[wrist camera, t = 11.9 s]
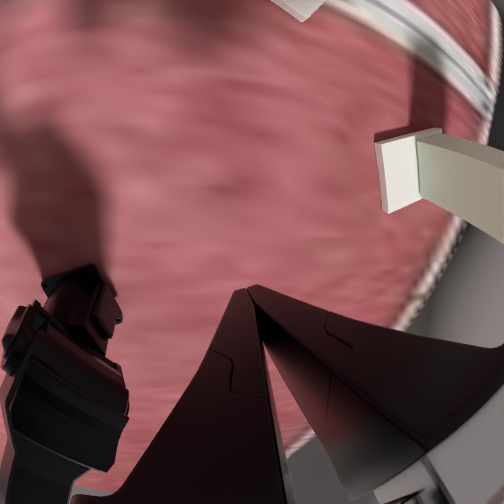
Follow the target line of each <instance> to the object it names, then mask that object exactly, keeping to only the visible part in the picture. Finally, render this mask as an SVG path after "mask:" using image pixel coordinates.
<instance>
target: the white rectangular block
mask: <svg viewBox="0 0 504 504" xmlns="http://www.w3.org/2000/svg"><path fill="white" fill-rule="evenodd" d="M270 1H272V2H273V3H275V4H276V5H278V6H279V7H281V8H282V9H284V10H285V11H287V12H288V13H289V14H291V15H292V16H293V17H295V18H296V19H298V20H299V21H300V22H301V23H302V22H303V21H305V20H307V19H308V18H309V17H310V16H311V15H312V14H313V13H314V12H315V11H316V10H317V9H318V8H319V7H320V6H321V5H322V4H323V3H324V2H325V1H326V0H270Z"/></svg>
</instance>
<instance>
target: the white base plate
mask: <svg viewBox="0 0 504 504" xmlns="http://www.w3.org/2000/svg"><path fill="white" fill-rule="evenodd" d="M438 135H442V129H440V128H436V127H435V128H431V129H426V130H422V131H418V132H414V133H409V134H405V135H401V136H398V137H394V138H390V139H386V140H382V141H379V142H375V143H374V146H375V152H376V158H377V166H378V173H379V181H380V191H381V201H382V210H383V211H384V212H386V213H388V214H389V213H391V212H393V211H396V210H398V209H400V208H402V207H404V206H407V205H409V204H411V203H413V202H415V201H418V200H420V199H422V197H420V177H419V162H418V150H417V141H419V140H422V139H426V138H430V137H434V136H438Z"/></svg>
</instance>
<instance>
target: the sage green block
mask: <svg viewBox="0 0 504 504" xmlns="http://www.w3.org/2000/svg"><path fill="white" fill-rule="evenodd" d="M417 150H418V162H419V177H420V197H422V198H424V199H426V200H428V201H430V202H432V203H434V204H436V205H438V206H440V207H442V208H443V209H445V210H447V211H449V212H451V213H453V214H455V215H456V216H458V217H460V218H462V219H464V220H465V221H467V222H469V223H471V224H472V225H474V226H476V227H477V228H479V229H481V230H482V231H484V232H486V233H487V234H489V235H491V236H492V237H494V238H495V239H497V240H498V241H500V242H501V243H503V244H504V152H503V151H501V150H498V149H495V148H492V147H489V146H486V145H483V144H480V143H477V142H473V141H470V140H466V139H463V138H459V137H455V136H452V135H448V134H442V135H438V136H434V137H430V138H426V139H422V140H419V141H417Z"/></svg>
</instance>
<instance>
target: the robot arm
mask: <svg viewBox="0 0 504 504" xmlns="http://www.w3.org/2000/svg"><path fill="white" fill-rule="evenodd" d="M90 269H93V271H91V270H90ZM45 284H47V285H45ZM41 287H42V288H43V290H44V292H45V294H46V295H47V297H48V299H47V301H46V303H45V305H44V307H42V306H40V305H41V304H40V303H39V302H38V301H37V300H36V299H35V301H34V302H33V303H32V305H30V304H29V305H28V306H27V307H24V306H19V307H18V308H17V310H16V311H15V313H14V315H13V317H12V318H11V320H10V322H9V324H8V326H7V328H6V331H5V333H4V336H3V338H2V345H3V350H4V351H3V356H2V363H1V369H3V370H4V371H5V372H6V376H5V378H4V381H3V383H2V386H1V388H0V402H1V408H2V414H3V419H4V424H5V428H6V432H7V437H8V439H7V443H6V447H5V451H4V455H3V459H2V464H1V468H0V504H68V503H69V499H70V494H71V490H72V486H73V483H74V481H75V480H77V479H78V478H80V477H81V476H82V475H84V474H85V473H87V472H88V471H90V470H91V469H93V470H96V471H99V472H102V473H106V472H108V470H109V469H110V468H111V467H112V466H113V464H114V462H115V456H116V451H117V446H118V441H119V438H120V436H121V433H122V431H123V429H124V427H125V426H126V424H127V422H128V420H129V417H128V416H127V415H128V412H129V391H128V389H126V386H125V382H124V378H123V374H122V369H121V366H120V365H119V364H117V363H113V362H112V361H110V360H109V359H108V358H106V357H105V355H106V350H107V344H108V339H111V338H112V336H113V332H114V327H115V324H120V323H121V322H122V320H123V316H122V314H121V312H120V311H119V309H118V308H119V306H118V304H117V302H116V300H115V298H114V296H113V295H112V293H111V291H110V289H109V287H108V285H107V284H105V283H104V281H103V279H102V277H101V275H100V273H99V271H98V269H97V267H96V265H94V264H88V265H85V266H82V267H79V268H75V269H72V270H69V271H66V272H63V273H60V274H57V275H54V276H51V277H49V278H46V279H43V281H42V282H41ZM117 318H119V319H117ZM263 344H264V346H265V348H266V350H267V351H268V353H269V355H270V357H271V359H272V360H273V362H274V364H275V366H276V367H277V369H278V371H279V373H280V374H281V376H282V378H283V380H284V381H285V383H286V385H287V387H288V388H289V390H290V392H291V393H292V395H293V397H294V399H295V400H296V402H297V404H298V405H299V407H300V409H301V410H302V412H303V414H304V415H305V417H306V419H307V421H308V422H309V424H310V425H311V427H312V429H313V430H314V432H315V434H316V435H317V437H318V439H319V440H320V442H321V443H322V445H323V446H324V448H325V450H326V452H327V454H328V456H329V457H330V460H331V462H332V464H333V466H334V468H335V471H336V473H337V475H338V478H339V479H340V482H341V484H342V487H343V489H344V491H345V493H346V496H347V498H348V500H349V501H352V500H355V499H357V498H359V497H361V496H363V495H365V494H368V493H370V492H372V491H374V493H375V495H376V497H377V499H378V501H379V503H380V504H504V344H502V345H501V346H498V347H495V348H484V347H479V346H473V345H468V344H462V343H456V342H452V341H446V340H442V339H437V338H432V337H427V336H423V335H418V334H413V333H408V332H404V331H400V330H395V329H391V328H386V327H382V326H378V325H374V324H370V323H366V322H362V321H358V320H355V319H351V318H348V317H345V316H342V315H339V314H336V313H334V312H331V311H330V312H329V311H327V310H324V309H322V308H319V307H316V306H313V305H311V304H308V303H305V302H303V301H300V300H297V299H295V298H292V297H289V296H287V295H284V294H282V293H279V292H276V291H274V290H271V289H269V288H266V287H263V286H261V285H258V284H256V285H253V286H250V287H247V289H245V288H243V289H239V290H235V291H234V292H233V294H232V297H231V299H230V301H229V303H228V306H227V308H226V310H225V312H224V315H223V317H222V319H221V321H220V324H219V326H218V328H217V330H216V333H215V335H214V337H213V339H212V341H211V344H210V346H209V348H208V350H207V352H206V354H205V356H204V358H203V360H202V362H201V364H200V366H199V368H198V370H197V372H196V374H195V375H194V377H193V379H192V380H191V382H190V384H189V385H188V387H187V388H186V390H185V392H184V393H183V395H182V396H181V398H180V399H179V401H178V402H177V404H176V405H175V407H174V409H173V410H172V412H171V413H170V415H169V416H168V418H167V419H166V421H165V422H164V424H163V425H162V427H161V428H160V430H159V431H158V433H157V434H156V436H155V437H154V439H153V440H152V442H151V443H150V445H149V446H148V448H147V449H146V451H145V452H144V454H143V455H142V457H141V458H140V460H139V461H138V463H137V464H136V466H135V467H134V469H133V470H132V472H131V473H130V475H129V476H128V477H127V479H126V480H125V482H124V483H123V485H122V486H121V487H120V488H119V490H118V491H116V492H115V493H114V494H112V495H109V496H102V497H99V496H90V495H83V494H77V495H74V496H72V499H71V503H70V504H296V501H295V497H294V493H293V488H292V483H291V479H290V475H289V470H288V465H287V460H286V455H285V450H284V445H283V441H282V436H281V431H280V426H279V421H278V416H277V411H276V406H275V401H274V396H273V391H272V386H271V381H270V376H269V371H268V366H267V361H266V355H265V350H264V346H263Z"/></svg>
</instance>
